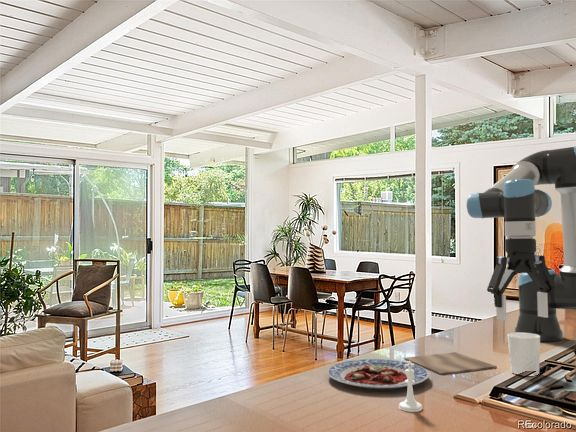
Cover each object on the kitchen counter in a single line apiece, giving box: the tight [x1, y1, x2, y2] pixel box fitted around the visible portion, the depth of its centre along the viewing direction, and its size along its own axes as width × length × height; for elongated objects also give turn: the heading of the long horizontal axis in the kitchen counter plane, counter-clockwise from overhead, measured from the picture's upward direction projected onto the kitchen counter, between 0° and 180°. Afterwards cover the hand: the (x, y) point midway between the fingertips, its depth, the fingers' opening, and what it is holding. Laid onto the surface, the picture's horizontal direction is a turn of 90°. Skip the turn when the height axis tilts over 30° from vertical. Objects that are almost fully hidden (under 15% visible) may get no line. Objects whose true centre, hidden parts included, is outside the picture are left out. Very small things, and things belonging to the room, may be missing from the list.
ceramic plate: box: [327, 358, 430, 390], centre depth 133 cm, size 26×26×3 cm
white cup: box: [507, 331, 541, 376], centre depth 136 cm, size 8×8×10 cm
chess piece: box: [398, 361, 423, 413], centre depth 111 cm, size 5×5×10 cm
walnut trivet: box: [404, 351, 498, 376], centre depth 147 cm, size 18×18×1 cm
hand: (522, 318), depth 136 cm, fingers open, 13 cm apart
